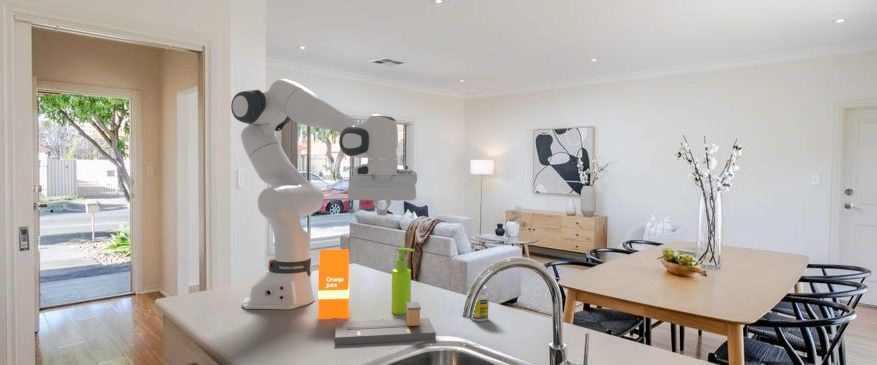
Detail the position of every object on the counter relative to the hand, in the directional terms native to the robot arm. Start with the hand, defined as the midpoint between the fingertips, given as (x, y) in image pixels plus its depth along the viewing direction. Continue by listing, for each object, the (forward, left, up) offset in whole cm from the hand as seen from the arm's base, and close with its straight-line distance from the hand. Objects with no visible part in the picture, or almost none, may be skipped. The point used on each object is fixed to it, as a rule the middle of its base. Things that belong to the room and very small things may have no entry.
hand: (381, 215), depth 144 cm
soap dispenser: (+7, +4, -31) cm, 32 cm away
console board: (0, -15, -31) cm, 34 cm away
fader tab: (+8, -15, -28) cm, 33 cm away
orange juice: (-14, +4, -31) cm, 34 cm away
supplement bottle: (+29, -6, -31) cm, 43 cm away
